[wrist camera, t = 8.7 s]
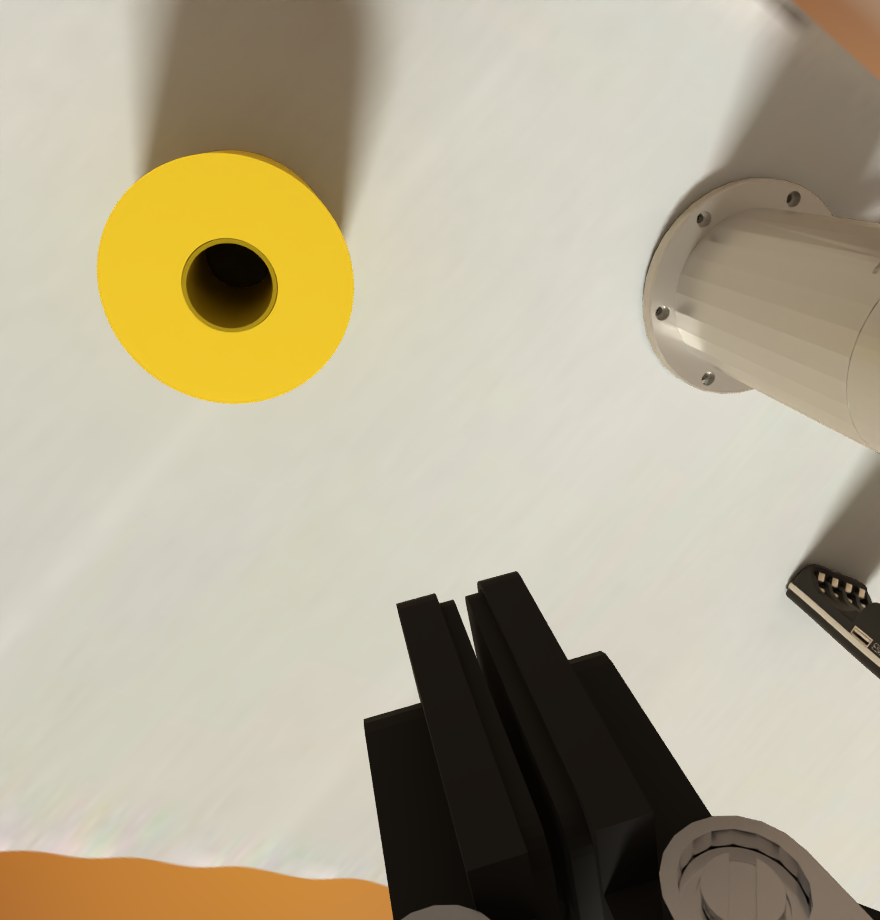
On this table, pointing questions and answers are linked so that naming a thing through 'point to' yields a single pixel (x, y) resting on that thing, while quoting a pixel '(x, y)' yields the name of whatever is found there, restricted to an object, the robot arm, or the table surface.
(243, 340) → the tape roll
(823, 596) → the battery charger
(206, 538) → the table surface
